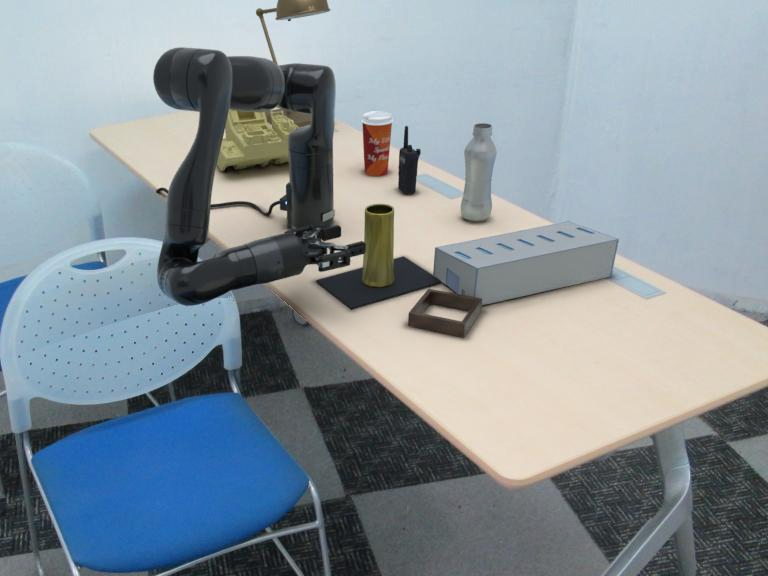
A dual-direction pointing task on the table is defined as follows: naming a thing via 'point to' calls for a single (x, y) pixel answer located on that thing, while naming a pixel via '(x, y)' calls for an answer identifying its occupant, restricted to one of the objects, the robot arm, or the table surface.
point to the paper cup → (376, 142)
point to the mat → (359, 294)
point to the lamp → (290, 5)
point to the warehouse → (525, 261)
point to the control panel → (254, 140)
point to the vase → (378, 246)
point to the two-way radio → (408, 166)
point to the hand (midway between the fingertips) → (352, 238)
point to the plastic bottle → (478, 174)
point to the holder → (444, 324)
